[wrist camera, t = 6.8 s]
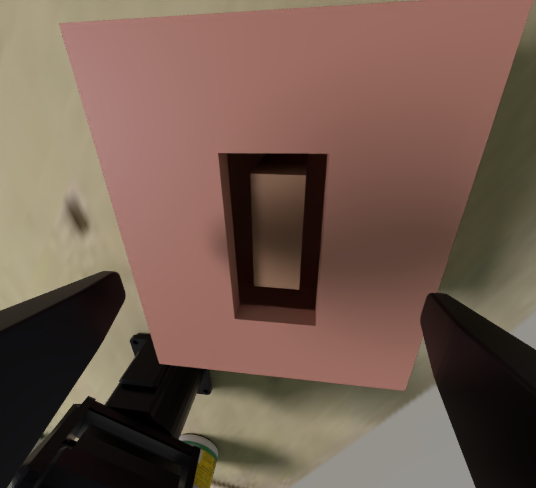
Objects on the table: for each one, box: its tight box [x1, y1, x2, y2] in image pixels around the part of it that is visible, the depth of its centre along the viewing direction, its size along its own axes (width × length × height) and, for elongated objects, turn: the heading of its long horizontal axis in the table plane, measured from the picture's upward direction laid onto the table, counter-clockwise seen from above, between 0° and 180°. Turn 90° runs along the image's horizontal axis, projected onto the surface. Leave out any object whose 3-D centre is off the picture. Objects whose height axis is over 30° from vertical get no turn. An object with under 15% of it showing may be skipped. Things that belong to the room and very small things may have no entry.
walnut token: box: [250, 153, 308, 290], centre depth 13 cm, size 5×2×5 cm, turn 0°
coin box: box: [59, 0, 533, 391], centre depth 13 cm, size 14×12×7 cm
